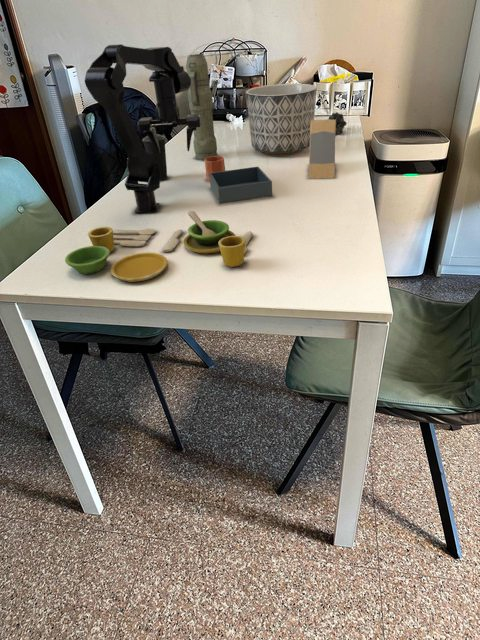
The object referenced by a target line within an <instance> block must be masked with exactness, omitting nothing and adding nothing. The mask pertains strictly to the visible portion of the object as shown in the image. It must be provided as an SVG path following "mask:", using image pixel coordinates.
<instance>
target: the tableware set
mask: <svg viewBox="0 0 480 640" xmlns="http://www.w3.org/2000/svg"><path fill="white" fill-rule="evenodd" d="M187 214H188V216H189V217H190V219H191V220H192V221H193V222H194V223H193V224H192V225H190V226H189V228H188V229H187V233H188V235H186V236H185V237H184V239H183V245H184V246H185V247H186V248H187V249H189V250H190V251H192V252H194V253H199V254H214V253H218V252H220V254H221V255H220V256H221V258H222V262H223V265H224V266H227V267H230V268H231V267H232V268H233V267H238V266H241V265H243V263H244V261H245V254H246V252H247V250H248V248H247V245H248V243H249V241H251V240H252V238H253V234H254V233H253V232H252V231H251V230H250V231H247V232H246V233H245V235H244V236H241V235H236V234H235V233H234V232H233V231H232V230H230V225H229V224H228V223H227V222H225V221H222V220H218V219H217V220H215V219H210V220H201V218H200V217H199V215H198V214H197V212H196V211H195V210H192V209H189V210H188V212H187ZM183 232H184V231H183V230H182V229H177V230H176V231H175V233H174V234H173V235H172V236H171V238H170V239H169V241H168V242H167V243H166V244H165V246H164V247H163V249H162V251H163V253H169V252H172V251H173V250H175V248H176V247H177V245H178V244H179V242H180V239H179V238H180V236H182V234H183ZM155 233H156V230H155V229H154V228H144V229H141V230H139V229H137V230H134V229H113V228H112V227H111V226H98V227H95V228H93V229H91V230H90V231H88V232H87V236H88V238H89V240H90V242H91V244H92V245H89V246H84V247H80V248H77V249H75V250H72V251H71V252H69V253H68V254H67V255H66V256H65V259H64V261H65V264H66V265H67V266H69V267H72V269H74V270H75V271H76V272H77V273H79V274H82V275H91V274H95V273H97V272H99V271H101V270H102V269H104V267H105V265H106V263H107V259H108V258H109V256H110V254H111V252H114V251H115V245H119V246H121V247H144V246H145V245H147V242H148V241H149V239H150V238H152V235H154V234H155ZM168 262H169V261H168V258H167V257H166V256H165V255H163V254H160V253H156V252H148V251H147V252H139V253H134V254H129V255H126V256H124V257H121V258H120V259H118V260H117V261H115V262H113V265H112V266H111V268H110V273H111V275H112V276H113V277H115V278H117V279H118V280H120V281H123V282H129V283H131V282H132V283H135V282H144V281H147V280H151V279H153V278H155V277H157V276H159V275H160V274H162V272H163V271H165V269H166V268H167V266H168Z"/></svg>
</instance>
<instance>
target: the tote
mask: <svg viewBox="0 0 480 640" xmlns="http://www.w3.org/2000/svg"><path fill="white" fill-rule="evenodd" d="M209 176H210V181H209V182H210V185H209V186H210V189H211V190H212V192H213V194H214V196H215V198H216V200H217V202H218V203H219V204H220V205H221V204H229V203H236V202H241V201H250V200H256V199H262V198H264V199H265V198H270V197H273V181H272V180H271V178H269V176H267V174H266V173H265V172H264V171H263V170H262V168H260V167H259V166H251V167H245V168H237V169H229V170H225V171H221V172H213V173H209Z"/></svg>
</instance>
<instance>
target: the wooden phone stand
mask: <svg viewBox="0 0 480 640" xmlns="http://www.w3.org/2000/svg"><path fill="white" fill-rule="evenodd" d="M335 133H336V120H328V119H314V120H311V124H310V146H309V152H308V153H309V154H308V157H309V159H308V173H309V175H308V177H309V179H335V178H336V177H335V174H336V171H335V170H336V169H335V167H336V134H337V133H336V134H335Z"/></svg>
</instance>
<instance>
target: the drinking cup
mask: <svg viewBox="0 0 480 640" xmlns="http://www.w3.org/2000/svg"><path fill="white" fill-rule="evenodd" d="M156 136H157V140H158V144H159V147H160V153H158V152H157V150H156V148H155V146H154V144H153V143H152V141H151V140H150V138H149V137H148V136H147V135H146V136H145V137H143V138H142V139H141V142H143V145H144V150H145V151H146V152H153V153H154V154H155V156H156V160H157V162H158V163H159V165H158V166H159V169H160V182H163V181H166V180H168V170H167V169H168V167H167V153H166V136H164V135H161V134H158V133H156Z"/></svg>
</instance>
